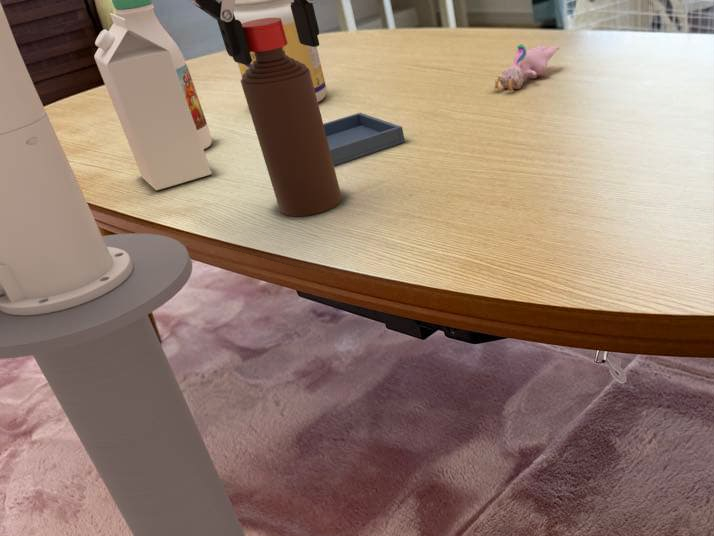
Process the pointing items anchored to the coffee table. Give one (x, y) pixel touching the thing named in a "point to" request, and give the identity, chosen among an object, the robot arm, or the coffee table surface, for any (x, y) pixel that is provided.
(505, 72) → the pink elongated figure
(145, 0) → the milk bottle
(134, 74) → the milk carton
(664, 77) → the coffee table surface
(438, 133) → the coffee table surface
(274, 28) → the cap
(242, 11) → the supplement tub
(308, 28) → the robot arm
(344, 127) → the tray
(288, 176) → the bottle
